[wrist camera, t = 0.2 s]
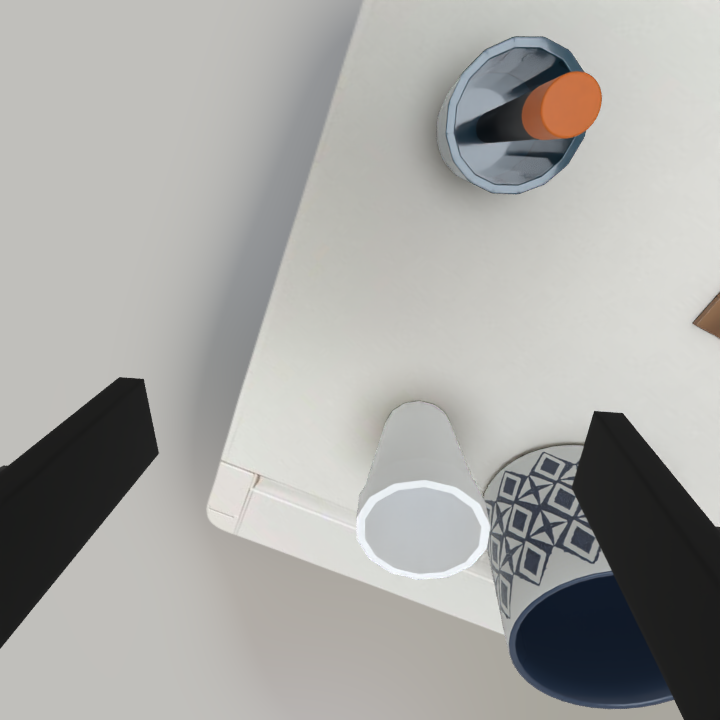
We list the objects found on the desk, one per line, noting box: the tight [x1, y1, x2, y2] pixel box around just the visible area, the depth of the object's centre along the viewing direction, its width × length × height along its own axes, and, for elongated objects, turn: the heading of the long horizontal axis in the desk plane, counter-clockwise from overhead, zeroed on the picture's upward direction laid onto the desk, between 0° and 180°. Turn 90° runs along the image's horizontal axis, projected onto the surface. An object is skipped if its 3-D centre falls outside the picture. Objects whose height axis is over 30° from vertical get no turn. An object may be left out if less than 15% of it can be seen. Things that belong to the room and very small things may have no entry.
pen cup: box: [436, 36, 586, 194], centre depth 28 cm, size 7×7×9 cm
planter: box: [483, 445, 674, 709], centre depth 39 cm, size 16×16×14 cm
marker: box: [476, 71, 602, 143], centre depth 24 cm, size 2×2×17 cm
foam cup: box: [356, 401, 490, 580], centre depth 37 cm, size 10×9×13 cm
